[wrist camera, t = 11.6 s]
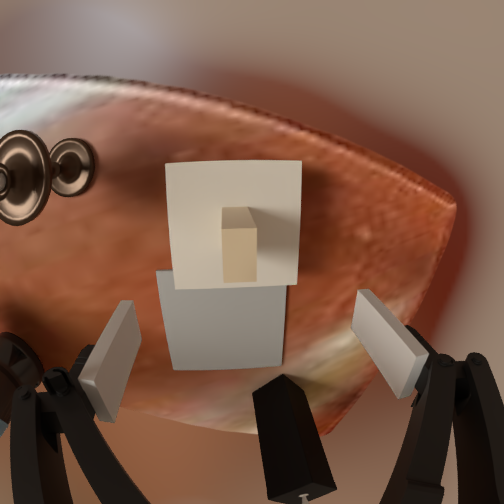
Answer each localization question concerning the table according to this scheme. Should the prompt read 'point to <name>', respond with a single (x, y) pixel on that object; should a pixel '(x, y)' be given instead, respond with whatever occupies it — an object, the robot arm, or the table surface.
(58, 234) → the table surface
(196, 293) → the mat
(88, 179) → the candlestick
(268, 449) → the black block
